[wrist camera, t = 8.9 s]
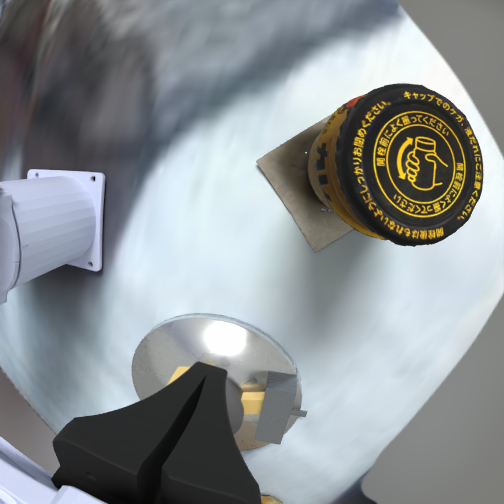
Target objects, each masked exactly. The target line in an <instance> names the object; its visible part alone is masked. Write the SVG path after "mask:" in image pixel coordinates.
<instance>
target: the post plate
mask: <svg viewBox="0 0 504 504" xmlns="http://www.w3.org/2000/svg"><path fill="white" fill-rule="evenodd" d="M198 361H199V362H203V363H206V364H209V365H213V366H216V367H219V368H223V369H226V370H227V372H228V374H227V378H228V379H230V380H231V381H233V382H234V383H235V384H236V385H237V386H238V387H239V388H240V389H241V390H242V392H265V394H264V398H263V403H262V407H261V411H260V414H244V417H243V421H242V425H241V427H240V429H239V430H238V431H237V432H236V433H235V434H234V438H235V441H236V444H237V446H238V448H239V451H240V450H249V449H254V448H258V447H261V446H264V445H267V444H269V443H274V444H280V443H281V440H282V437H283V435H284V434H285V433H286V432H287V431H288V430H289V429H290V428H291V427H292V425H293V424H294V422H295V421H296V419H297V417H298V416H301V417H306V414H307V411H303V410H300V408H301V401H302V386H301V379H300V376H299V373H298V370H297V368H296V366H295V364H294V362H293V361H292V359H291V358H290V356H289V355H288V353H287V352H286V351H285V350H284V349H283V348H282V347H281V346H280V345H279V344H278V343H277V342H276V341H275V340H274V339H272V338H271V337H270V336H269V335H267V334H266V333H264V332H263V331H261V330H259V329H258V328H256V327H254V326H252V325H250V324H248V323H245V322H243V321H240V320H237V319H234V318H231V317H227V316H223V315H216V314H208V313H194V314H185V315H181V316H176V317H173V318H171V319H168V320H165V321H164V322H162V323H160V324H158V325H157V326H156V327H155V328H153V329H152V330H151V331H150V332H149V333H148V334H147V335H146V336H145V337H144V339H143V340H142V341H141V342H140V344H139V345H138V347H137V349H136V351H135V354H134V356H133V361H132V378H133V383H134V387H135V390H136V392H137V394H138V397H139V399H140V400H143V399H145V398H147V397H149V396H151V395H153V394H154V393H156V392H158V391H159V390H161V389H162V388H164V387H166V386H167V384H168V382H169V381H170V379H171V377H172V376H173V374H174V372H175V371H176V369H177V368H178V367H191V366H192V365H193V364H194V363H195V362H198Z"/></svg>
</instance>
